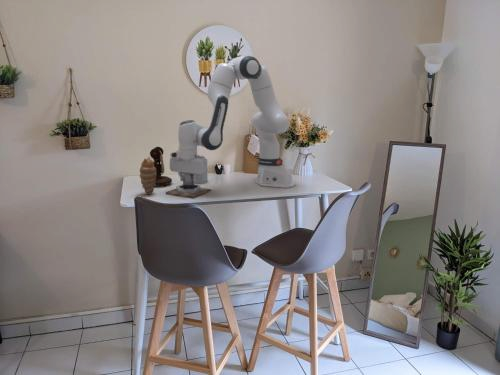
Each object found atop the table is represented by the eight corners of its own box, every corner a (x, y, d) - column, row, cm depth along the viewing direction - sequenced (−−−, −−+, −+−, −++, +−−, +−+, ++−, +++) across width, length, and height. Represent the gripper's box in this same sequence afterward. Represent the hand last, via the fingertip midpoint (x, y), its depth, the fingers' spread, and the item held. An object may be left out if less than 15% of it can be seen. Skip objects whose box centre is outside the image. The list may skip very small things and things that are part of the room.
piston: (196, 189, 198) (196, 172, 196) (190, 192, 194) (189, 174, 191) (187, 188, 201) (187, 170, 198) (180, 190, 196) (180, 172, 194)
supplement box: (203, 183, 216) (203, 161, 213) (190, 183, 217) (190, 160, 214) (207, 180, 223) (207, 158, 220) (195, 180, 224) (195, 158, 221)
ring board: (210, 191, 201) (210, 185, 200) (192, 198, 187) (192, 192, 186) (184, 187, 208) (184, 181, 207) (165, 194, 194) (165, 188, 193)
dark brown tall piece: (169, 188, 206) (167, 149, 201) (140, 187, 206) (138, 149, 201) (174, 181, 220) (173, 145, 215) (147, 181, 220) (146, 145, 215)
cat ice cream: (145, 191, 198) (143, 155, 194) (160, 192, 197) (158, 156, 192) (137, 195, 190) (135, 158, 185) (152, 197, 188) (151, 159, 184)
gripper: (209, 155, 191) (209, 182, 194) (175, 151, 200) (175, 178, 203) (202, 157, 186) (202, 185, 189) (167, 153, 194) (168, 180, 198)
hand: (188, 181), depth 196 cm, fingers open, 6 cm apart
